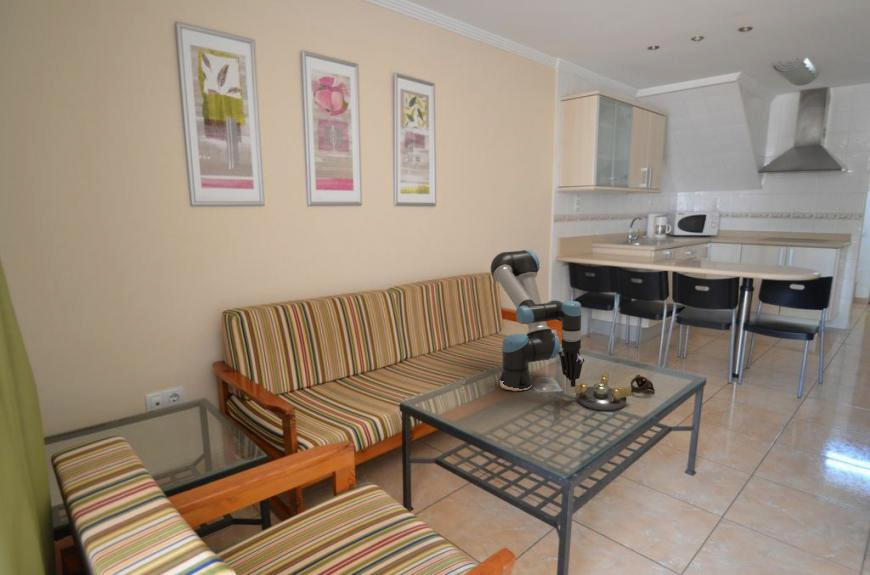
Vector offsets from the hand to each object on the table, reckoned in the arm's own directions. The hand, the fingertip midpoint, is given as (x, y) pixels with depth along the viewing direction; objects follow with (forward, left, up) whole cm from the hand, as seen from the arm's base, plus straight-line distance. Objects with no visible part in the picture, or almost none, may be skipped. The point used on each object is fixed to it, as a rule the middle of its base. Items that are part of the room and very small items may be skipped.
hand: (570, 392), depth 198 cm
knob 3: (+19, +5, -2) cm, 20 cm away
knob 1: (+2, +3, -2) cm, 4 cm away
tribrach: (+11, +7, -4) cm, 14 cm away
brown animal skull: (+25, +22, -5) cm, 34 cm away
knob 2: (+11, +17, -2) cm, 20 cm away
